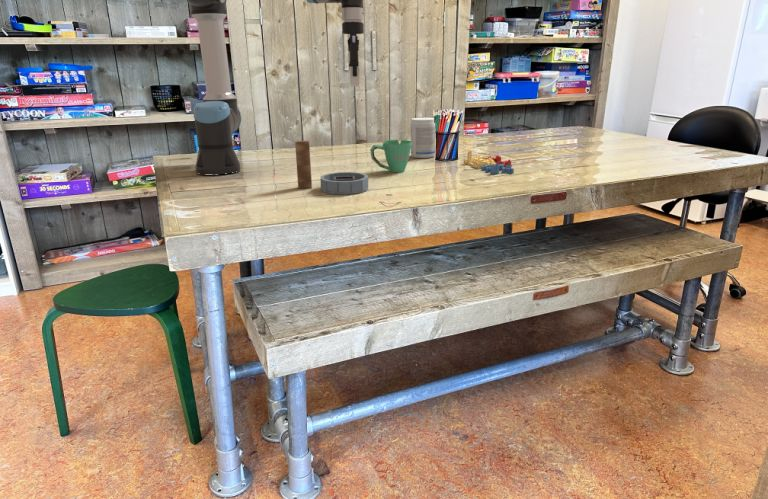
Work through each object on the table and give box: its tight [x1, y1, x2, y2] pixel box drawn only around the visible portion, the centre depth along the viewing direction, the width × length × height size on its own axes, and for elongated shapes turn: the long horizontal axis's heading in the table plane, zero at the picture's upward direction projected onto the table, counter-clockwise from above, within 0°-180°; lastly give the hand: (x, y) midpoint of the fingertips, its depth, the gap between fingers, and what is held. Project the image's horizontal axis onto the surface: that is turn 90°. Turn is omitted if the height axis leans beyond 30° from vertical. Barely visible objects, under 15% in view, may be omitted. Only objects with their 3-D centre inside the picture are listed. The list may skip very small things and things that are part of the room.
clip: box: [334, 176, 355, 181], centre depth 161 cm, size 6×4×3 cm
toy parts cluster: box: [463, 150, 515, 175], centre depth 200 cm, size 45×14×5 cm, turn 14°
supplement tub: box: [410, 117, 436, 159], centre depth 211 cm, size 10×10×15 cm
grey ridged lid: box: [319, 171, 369, 196], centre depth 161 cm, size 14×14×4 cm
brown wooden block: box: [294, 140, 313, 190], centre depth 162 cm, size 4×2×14 cm, turn 94°
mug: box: [370, 139, 412, 173], centre depth 184 cm, size 15×10×10 cm
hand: (354, 85), depth 195 cm, fingers open, 13 cm apart
